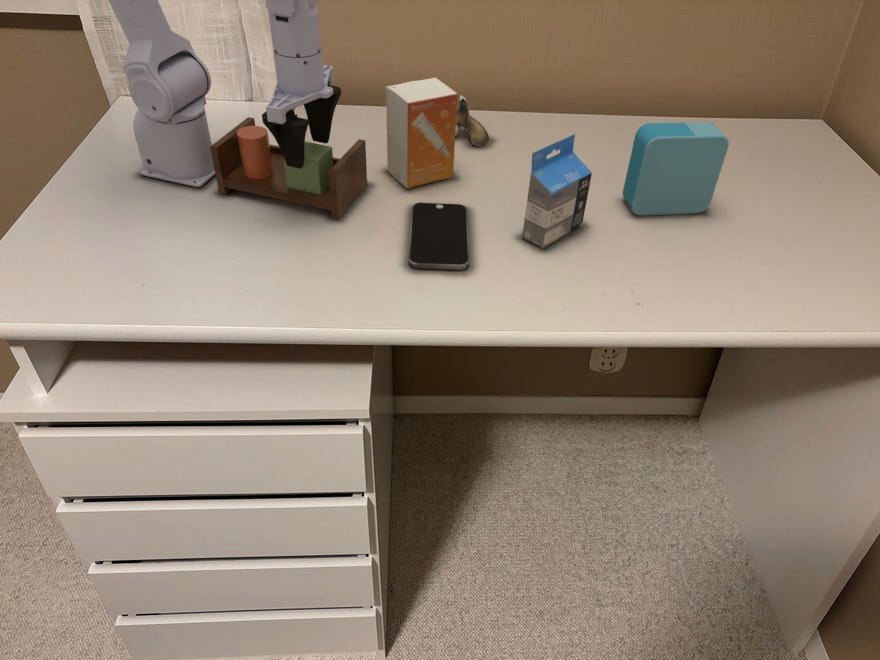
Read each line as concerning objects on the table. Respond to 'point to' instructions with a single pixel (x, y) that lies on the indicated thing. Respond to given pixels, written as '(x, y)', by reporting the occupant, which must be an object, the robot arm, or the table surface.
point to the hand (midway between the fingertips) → (308, 153)
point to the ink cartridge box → (555, 194)
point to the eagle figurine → (470, 124)
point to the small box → (420, 131)
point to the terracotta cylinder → (255, 152)
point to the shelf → (338, 197)
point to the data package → (674, 168)
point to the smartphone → (439, 236)
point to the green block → (311, 169)
